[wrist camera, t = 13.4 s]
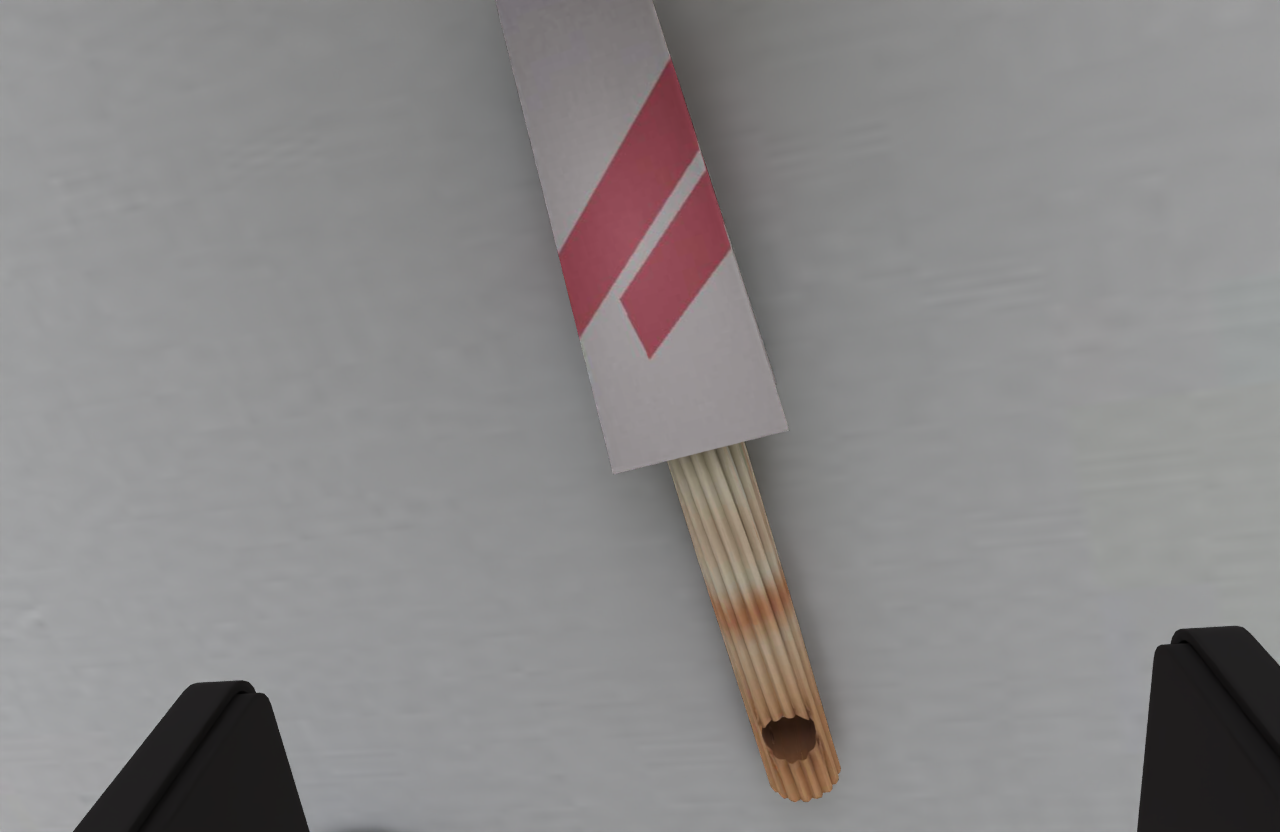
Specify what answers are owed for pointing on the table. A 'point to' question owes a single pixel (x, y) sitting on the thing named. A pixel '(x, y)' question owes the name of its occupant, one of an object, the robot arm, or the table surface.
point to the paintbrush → (669, 332)
